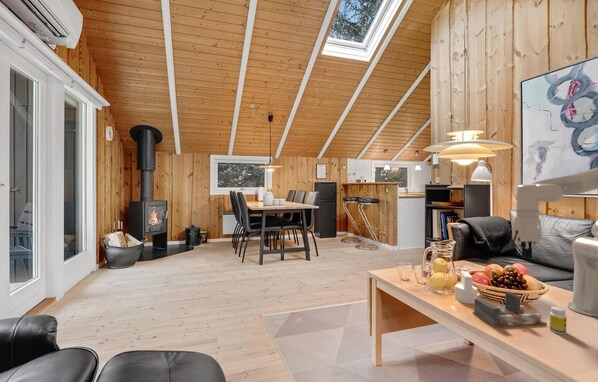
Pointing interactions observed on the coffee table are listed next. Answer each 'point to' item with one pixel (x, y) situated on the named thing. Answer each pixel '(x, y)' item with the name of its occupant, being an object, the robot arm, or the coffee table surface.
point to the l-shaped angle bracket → (511, 305)
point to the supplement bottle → (558, 320)
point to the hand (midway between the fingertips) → (526, 257)
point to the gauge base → (496, 320)
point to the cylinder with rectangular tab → (465, 289)
